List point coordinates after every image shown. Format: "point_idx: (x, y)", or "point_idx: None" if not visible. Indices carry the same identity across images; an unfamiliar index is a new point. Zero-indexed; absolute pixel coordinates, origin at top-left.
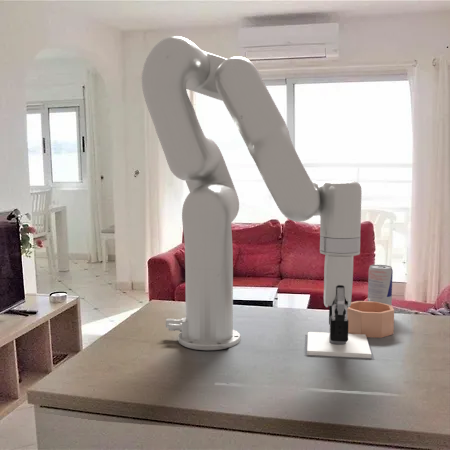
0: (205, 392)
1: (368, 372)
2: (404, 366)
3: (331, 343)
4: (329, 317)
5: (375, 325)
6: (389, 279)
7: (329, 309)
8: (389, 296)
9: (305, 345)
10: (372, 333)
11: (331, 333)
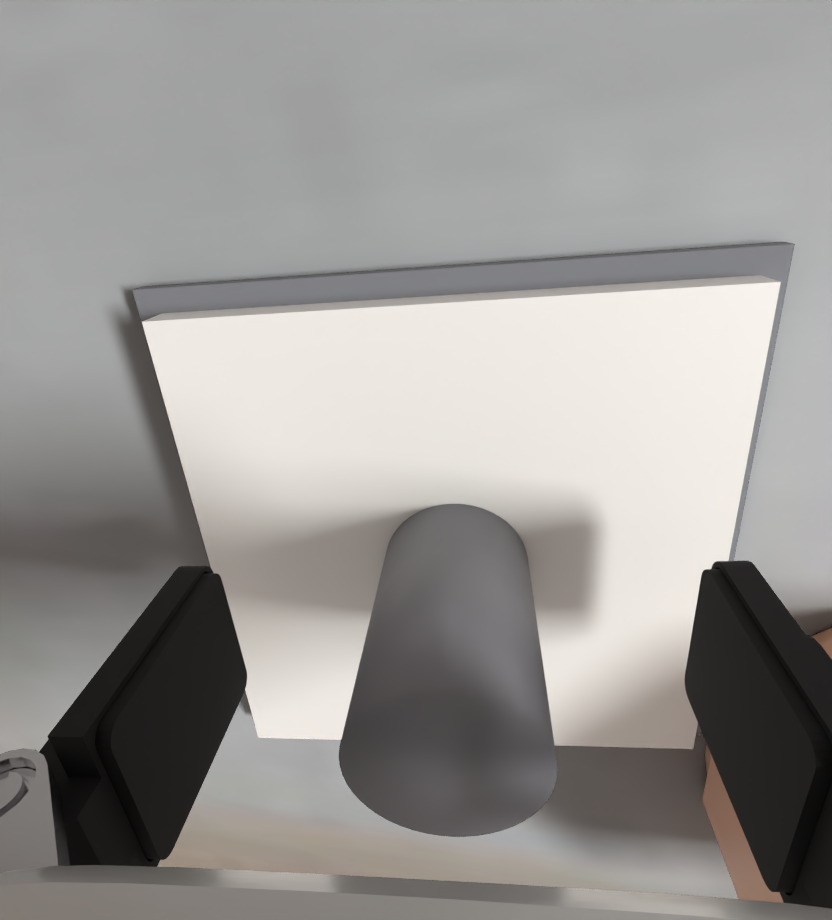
0: None
1: (76, 672)
2: (243, 816)
3: (405, 520)
4: (756, 621)
5: (746, 868)
6: None
7: (815, 712)
8: None
9: (416, 275)
10: (722, 787)
11: (148, 614)
